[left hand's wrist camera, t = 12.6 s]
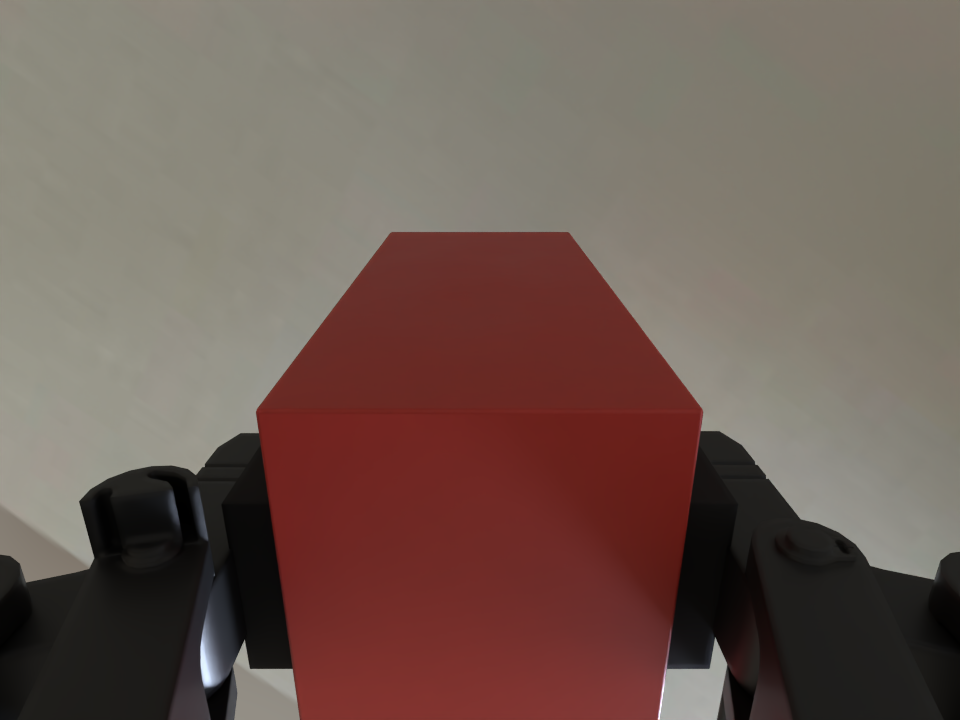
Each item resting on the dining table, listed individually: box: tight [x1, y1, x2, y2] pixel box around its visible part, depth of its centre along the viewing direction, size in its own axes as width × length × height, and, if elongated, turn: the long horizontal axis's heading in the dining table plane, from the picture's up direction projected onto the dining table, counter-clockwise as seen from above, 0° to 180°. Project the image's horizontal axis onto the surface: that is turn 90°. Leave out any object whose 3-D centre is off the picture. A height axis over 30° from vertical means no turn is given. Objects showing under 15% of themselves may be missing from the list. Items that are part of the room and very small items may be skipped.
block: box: [256, 232, 703, 720], centre depth 13 cm, size 6×5×11 cm
